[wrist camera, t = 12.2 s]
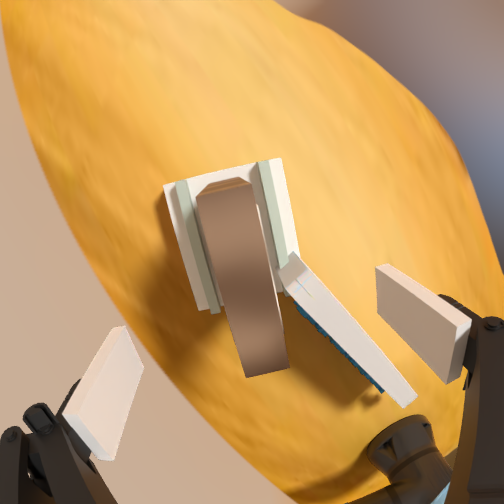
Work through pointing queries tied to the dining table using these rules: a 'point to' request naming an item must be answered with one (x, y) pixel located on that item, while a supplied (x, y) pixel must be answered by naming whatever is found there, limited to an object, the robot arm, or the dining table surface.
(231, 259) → the brown picture frame
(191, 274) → the panel
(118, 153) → the dining table surface
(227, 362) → the dining table surface
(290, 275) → the decorative sign
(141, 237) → the dining table surface
